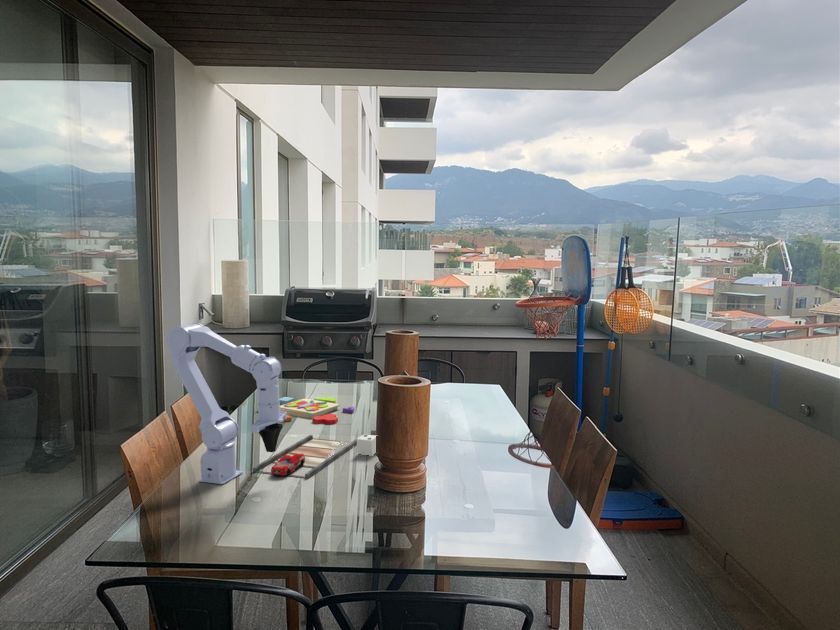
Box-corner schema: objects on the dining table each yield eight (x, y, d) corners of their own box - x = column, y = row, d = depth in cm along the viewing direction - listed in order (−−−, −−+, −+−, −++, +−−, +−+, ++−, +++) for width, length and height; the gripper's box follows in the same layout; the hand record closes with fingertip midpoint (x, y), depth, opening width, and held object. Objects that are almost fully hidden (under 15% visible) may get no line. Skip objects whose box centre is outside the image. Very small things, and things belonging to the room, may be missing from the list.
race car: (284, 478, 173) (284, 464, 172) (267, 476, 174) (267, 463, 174) (308, 462, 185) (308, 449, 184) (292, 461, 187) (291, 448, 186)
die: (372, 456, 190) (371, 440, 189) (357, 454, 192) (356, 438, 191) (378, 451, 195) (378, 435, 194) (363, 449, 196) (363, 433, 196)
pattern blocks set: (240, 420, 235) (240, 412, 235) (286, 399, 267) (286, 392, 267) (332, 427, 224) (332, 419, 223) (368, 404, 255) (368, 397, 255)
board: (308, 478, 173) (308, 474, 172) (252, 471, 179) (252, 467, 178) (359, 443, 203) (358, 439, 203) (310, 438, 209) (310, 434, 209)
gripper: (266, 410, 161) (268, 461, 163) (295, 397, 175) (297, 444, 176) (243, 408, 164) (245, 458, 165) (273, 395, 177) (275, 442, 179)
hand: (270, 451), depth 171 cm, fingers closed
